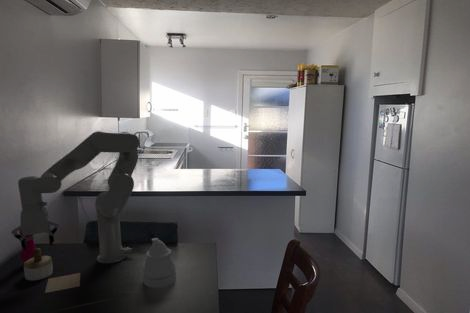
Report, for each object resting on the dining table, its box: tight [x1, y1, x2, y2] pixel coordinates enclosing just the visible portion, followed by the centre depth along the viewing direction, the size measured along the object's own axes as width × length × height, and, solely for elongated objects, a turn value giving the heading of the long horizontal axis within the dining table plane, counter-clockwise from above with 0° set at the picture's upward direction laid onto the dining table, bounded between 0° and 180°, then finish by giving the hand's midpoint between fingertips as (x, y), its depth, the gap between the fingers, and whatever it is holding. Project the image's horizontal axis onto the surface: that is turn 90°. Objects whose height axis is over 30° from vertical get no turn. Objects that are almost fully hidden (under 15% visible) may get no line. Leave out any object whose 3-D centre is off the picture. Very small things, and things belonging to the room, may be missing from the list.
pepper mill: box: [18, 229, 37, 268], centre depth 155 cm, size 7×7×20 cm
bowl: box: [23, 261, 54, 281], centre depth 145 cm, size 10×10×6 cm
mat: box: [44, 272, 81, 294], centre depth 139 cm, size 12×12×1 cm
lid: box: [23, 247, 53, 269], centre depth 145 cm, size 10×10×6 cm
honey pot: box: [142, 237, 177, 289], centre depth 139 cm, size 13×13×18 cm
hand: (38, 246), depth 144 cm, fingers open, 9 cm apart
